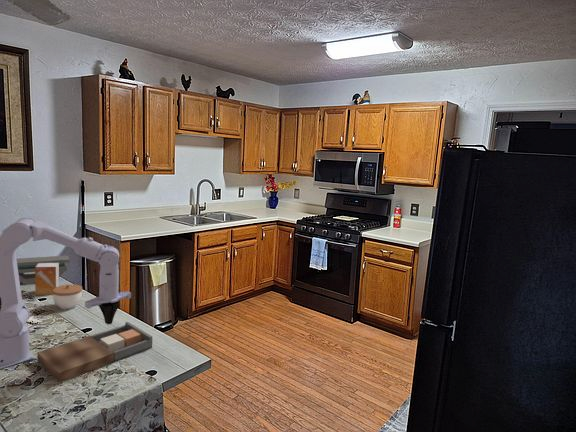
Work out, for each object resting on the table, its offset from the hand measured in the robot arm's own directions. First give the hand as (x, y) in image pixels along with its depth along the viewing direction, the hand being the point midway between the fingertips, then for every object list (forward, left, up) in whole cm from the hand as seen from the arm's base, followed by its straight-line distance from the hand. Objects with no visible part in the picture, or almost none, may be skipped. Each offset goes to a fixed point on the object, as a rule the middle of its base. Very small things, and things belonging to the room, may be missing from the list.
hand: (108, 323), depth 128 cm
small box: (+5, +65, -10) cm, 66 cm away
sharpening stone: (+8, +83, -10) cm, 84 cm away
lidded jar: (+5, +44, -10) cm, 46 cm away
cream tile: (+1, -1, -9) cm, 9 cm away
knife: (-6, +36, -10) cm, 38 cm away
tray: (+4, -1, -9) cm, 10 cm away
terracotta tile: (+7, -1, -9) cm, 11 cm away
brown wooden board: (-11, -1, -9) cm, 14 cm away
